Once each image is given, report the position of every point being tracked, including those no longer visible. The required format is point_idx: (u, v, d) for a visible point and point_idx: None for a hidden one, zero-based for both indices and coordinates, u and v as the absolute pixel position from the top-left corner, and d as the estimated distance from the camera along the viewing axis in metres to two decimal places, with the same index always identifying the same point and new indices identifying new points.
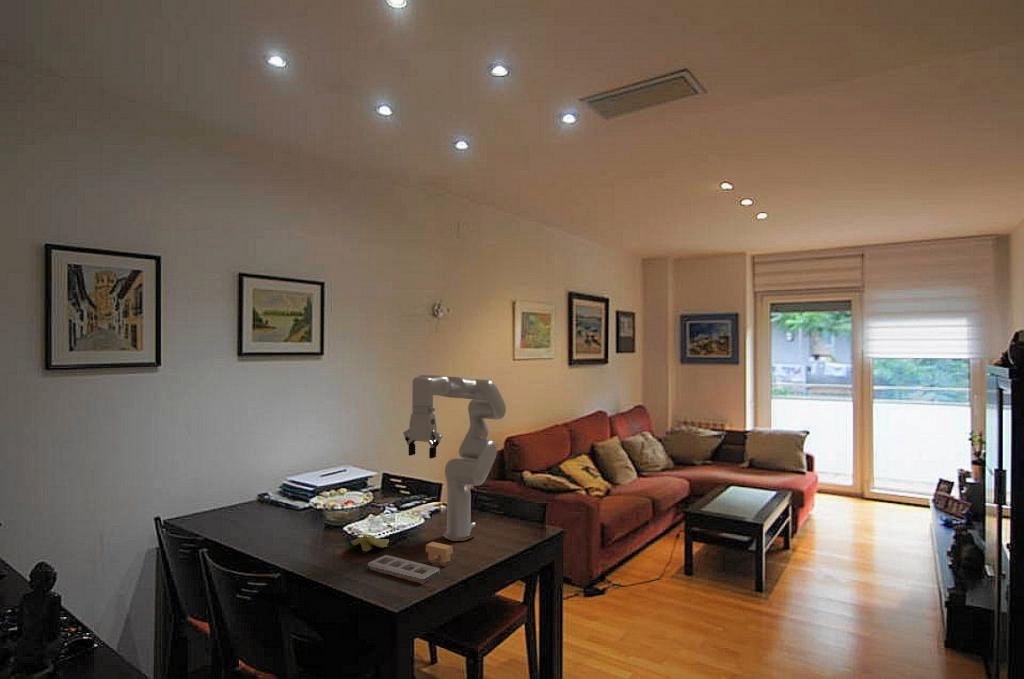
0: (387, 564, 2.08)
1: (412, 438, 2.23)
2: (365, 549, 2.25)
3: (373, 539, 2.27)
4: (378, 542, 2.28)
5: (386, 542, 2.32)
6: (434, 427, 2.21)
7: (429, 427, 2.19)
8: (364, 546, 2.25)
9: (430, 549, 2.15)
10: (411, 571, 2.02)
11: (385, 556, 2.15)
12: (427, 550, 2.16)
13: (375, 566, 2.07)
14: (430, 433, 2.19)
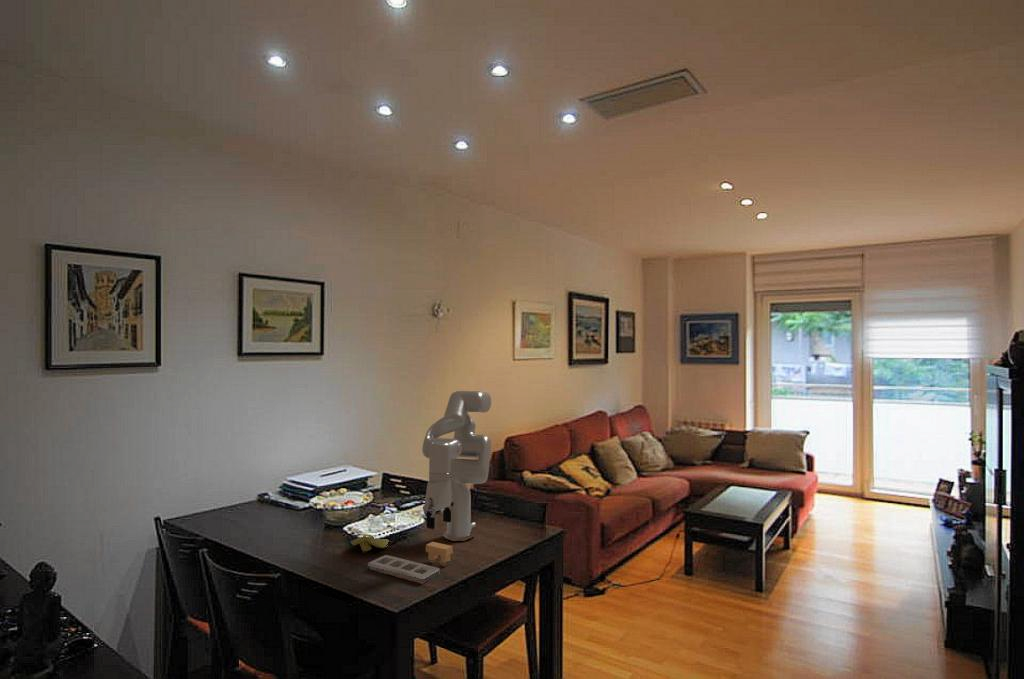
0: (387, 564, 2.08)
1: (438, 508, 2.11)
2: (364, 549, 2.25)
3: (372, 539, 2.26)
4: (377, 542, 2.28)
5: (386, 542, 2.32)
6: None
7: None
8: (363, 546, 2.25)
9: (430, 549, 2.15)
10: (411, 571, 2.02)
11: (385, 556, 2.15)
12: (427, 550, 2.16)
13: (375, 566, 2.07)
14: None
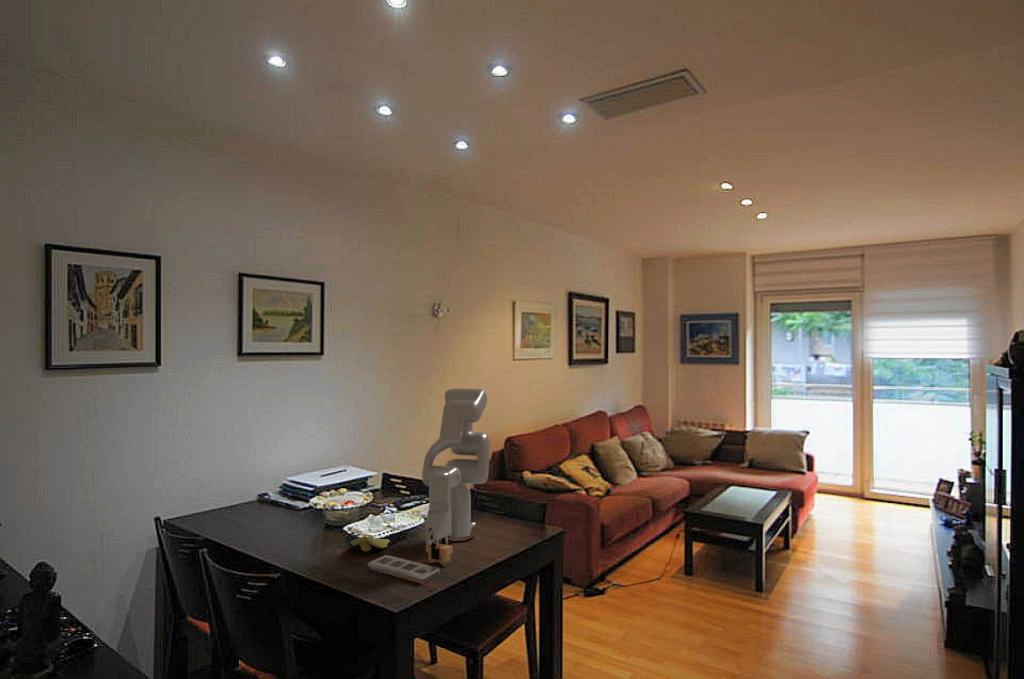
0: (387, 564, 2.08)
1: (438, 538, 2.12)
2: (364, 549, 2.25)
3: (372, 539, 2.26)
4: (377, 542, 2.27)
5: (386, 542, 2.32)
6: None
7: None
8: (363, 546, 2.25)
9: (430, 549, 2.15)
10: (411, 571, 2.02)
11: (385, 556, 2.15)
12: (427, 550, 2.16)
13: (375, 566, 2.07)
14: None
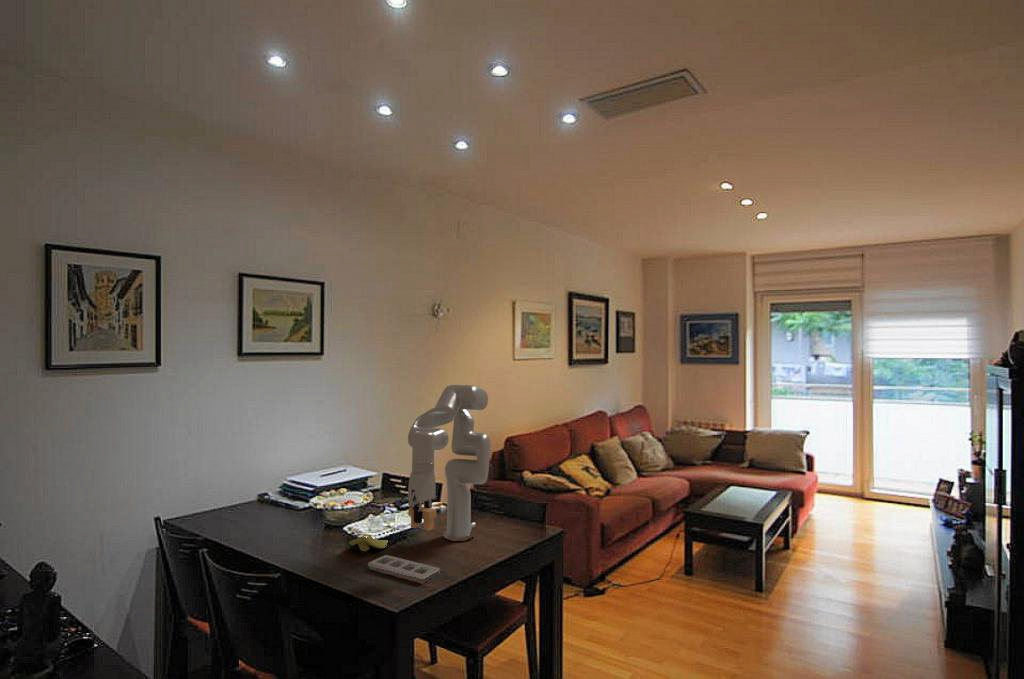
0: (387, 564, 2.08)
1: (421, 500, 2.03)
2: (363, 549, 2.25)
3: (371, 539, 2.26)
4: (376, 543, 2.27)
5: (384, 543, 2.32)
6: None
7: None
8: (362, 546, 2.25)
9: (413, 512, 2.06)
10: (411, 571, 2.02)
11: (385, 556, 2.15)
12: (410, 514, 2.07)
13: (375, 566, 2.07)
14: None
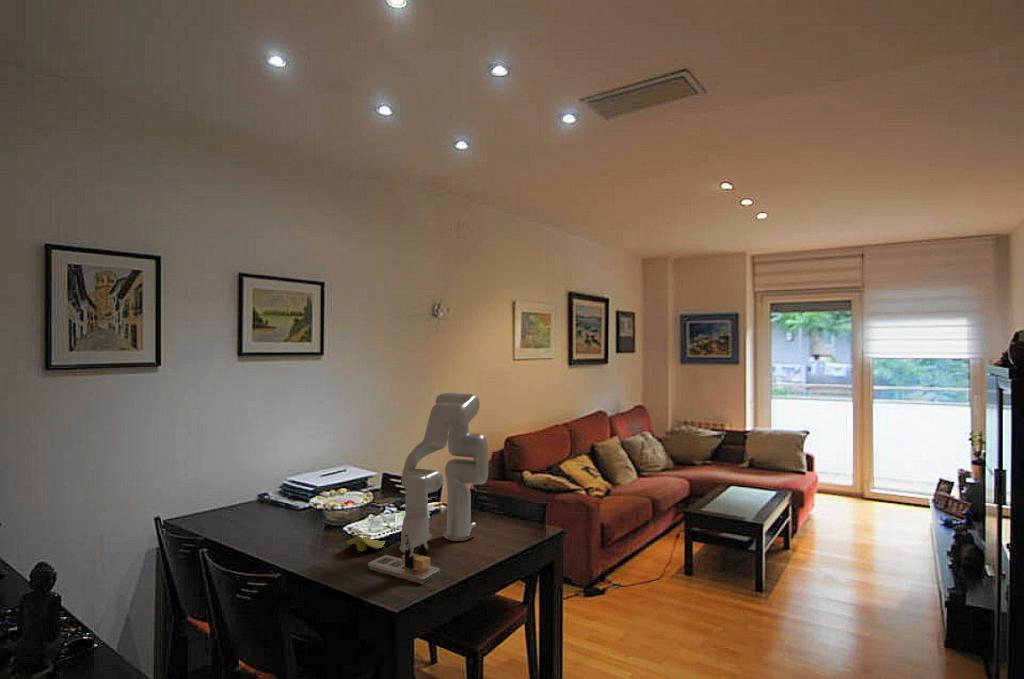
0: (387, 564, 2.08)
1: (415, 545, 2.01)
2: (359, 549, 2.25)
3: (367, 540, 2.26)
4: (373, 543, 2.27)
5: (382, 543, 2.31)
6: None
7: None
8: (358, 546, 2.25)
9: None
10: (411, 571, 2.02)
11: (385, 556, 2.15)
12: (403, 562, 2.04)
13: (375, 566, 2.07)
14: None
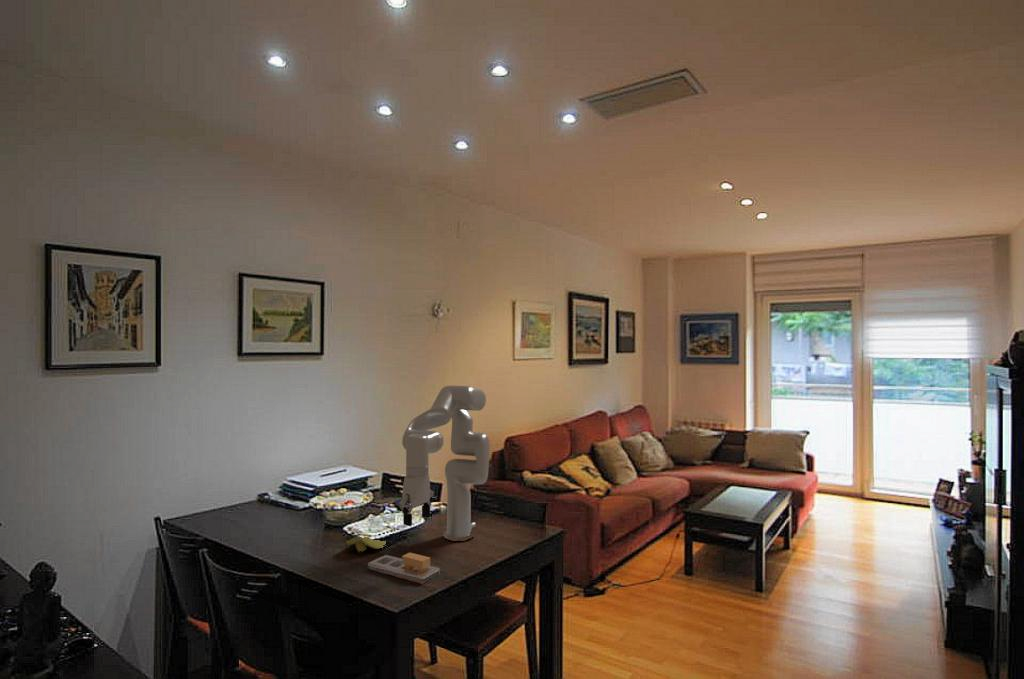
0: (387, 564, 2.08)
1: (416, 504, 2.01)
2: (359, 549, 2.25)
3: (367, 540, 2.26)
4: (373, 543, 2.27)
5: (382, 543, 2.31)
6: None
7: None
8: (358, 546, 2.25)
9: (406, 560, 2.04)
10: (411, 571, 2.02)
11: (385, 556, 2.15)
12: (403, 562, 2.04)
13: (375, 566, 2.07)
14: None
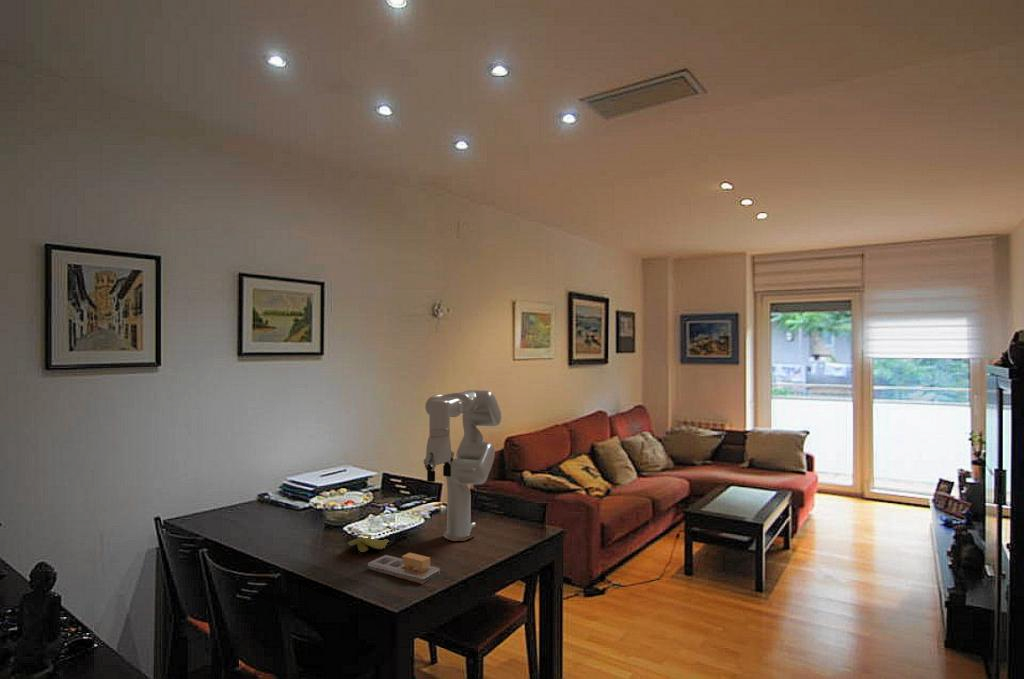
0: (387, 564, 2.08)
1: (438, 462, 2.20)
2: (361, 550, 2.24)
3: (369, 540, 2.25)
4: (375, 543, 2.26)
5: (383, 543, 2.31)
6: None
7: None
8: (360, 547, 2.24)
9: (406, 560, 2.04)
10: (411, 571, 2.02)
11: (385, 556, 2.15)
12: (403, 562, 2.04)
13: (375, 566, 2.07)
14: None
